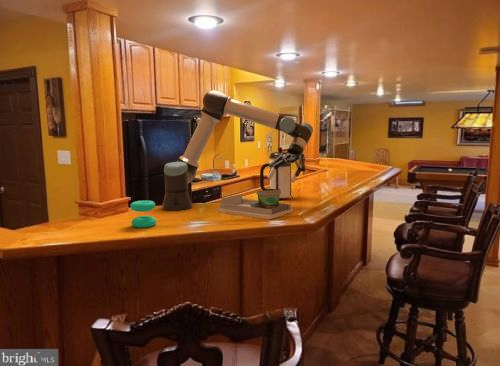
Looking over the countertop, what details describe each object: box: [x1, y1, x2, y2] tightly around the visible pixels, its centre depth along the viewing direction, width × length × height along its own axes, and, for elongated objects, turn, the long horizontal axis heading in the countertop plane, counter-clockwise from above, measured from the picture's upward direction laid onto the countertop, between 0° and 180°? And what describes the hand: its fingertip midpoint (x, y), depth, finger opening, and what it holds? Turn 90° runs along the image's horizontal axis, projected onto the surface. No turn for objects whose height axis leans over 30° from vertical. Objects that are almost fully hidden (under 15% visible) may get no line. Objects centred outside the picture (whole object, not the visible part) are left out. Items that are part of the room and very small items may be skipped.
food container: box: [255, 188, 281, 209], centre depth 172 cm, size 12×6×10 cm, turn 114°
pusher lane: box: [217, 193, 294, 220], centre depth 178 cm, size 30×20×6 cm, turn 52°
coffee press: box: [259, 146, 294, 201], centre depth 211 cm, size 17×16×30 cm
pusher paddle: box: [250, 202, 259, 208], centre depth 178 cm, size 6×14×4 cm, turn 142°
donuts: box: [129, 199, 157, 229], centre depth 154 cm, size 10×10×10 cm
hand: (280, 179), depth 180 cm, fingers open, 13 cm apart
